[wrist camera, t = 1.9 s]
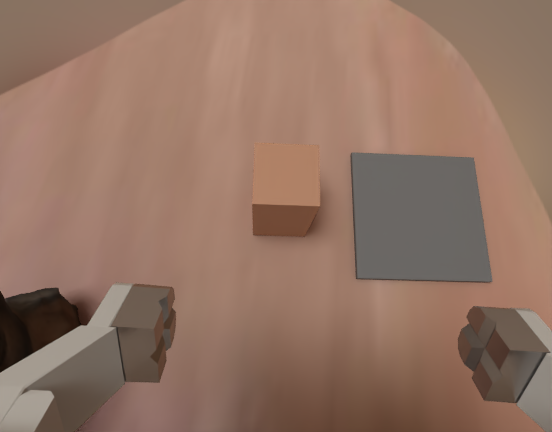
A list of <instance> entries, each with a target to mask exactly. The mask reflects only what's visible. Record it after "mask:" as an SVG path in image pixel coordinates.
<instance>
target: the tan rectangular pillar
mask: <svg viewBox="0 0 552 432" xmlns="http://www.w3.org/2000/svg"><path fill="white" fill-rule="evenodd" d="M319 208H320V165H319V145H299V144H275V143H255V150H254V175H253V201H252V210H253V235H270V236H302V237H304V236H305V235H306V233H307V231H308V229H309V227H310V225H311V223H312V221H313V219H314V217H315V215H316V213H317V211H318V210H319Z"/></svg>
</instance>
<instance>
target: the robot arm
mask: <svg viewBox="0 0 552 432" xmlns="http://www.w3.org/2000/svg"><path fill="white" fill-rule="evenodd" d="M174 300H175V295H174V289H173V287H168V286H156V285H145V284H130V283H117V282H116V283H115V284H113V285H112V286H111V288H110V289H109V291H108V293H107V294H106V296H105V297H104V299H103V301H102V302H101V304H100V305H99V307H98V309H97V310H96V312H95V313H94V315H93V317H92V318H91V320H90V321H89V323H88V325H87V326H83V325H81V326H79V327H77V328H76V329H74V330H72V331H71V332H69V333H67V334H65V335H64V336H62V337H60V338H59V339H57V340H55V341H53V342H52V343H50V344H48V345H47V346H45V347H43V348H42V349H40V350H38V351H36V352H35V353H33V354H31V355H30V356H28V357H26V358H25V359H23V360H21V361H19V362H18V363H16V364H14V365H13V366H11V367H9V368H7V369H6V370H4V371H2V372H1V373H0V432H74V431H76V430H77V429H78V428H79V427H80V426H81V425H82V424H83V423H84V422H85V421H86V420H87V419H88V418H89V417H90V416H91V415H92V414H93V413H95V412H96V411H97V410H98V409H99V408H100V407H101V406H102V405H103V404H104V403H105V402H106V401H107V400H108V399H109V398H110V397H111V396H112V395H114V394H115V393H116V392H117V391H118V390H119V389H120V388H121V387H122V386H123V385H124V384H125V382H154V383H159V382H160V379H161V376H162V373H163V370H164V367H165V364H166V351H167V350H168V349H169V348H170V347H171V345H172V342H173V339H174V333H175V328H176V312H175V310H174V309H173V308H172V306H173V303H174ZM467 320H468V322H469V324H468V325H467V326H465V327H464V328H462V329H461V331H460V334H459V337H458V350H459V354H460V357H461V359H462V361H463V363H464V364H465V365H466V366H467V367H468V368H470V369H471V370H472V371H474V372H473V376H472V379H473V381H474V383H475V385H476V387H477V389H478V390H479V392H480V394H481V396H482V398H483V400H484V401H496V402H508V403H517V404H516V405H517V406H518V407H519V408H520V409H521V410H523V411H524V412H525V413H526V414H527V415H528V416H529V417H530V418H531V419H532V420H534V421H535V422H536V423H537V424H538V425H539V426H540V427H541V428H542V429H543V430H545V431H546V432H552V331H551V330H550V328H549V327H548V326H547V325H546V324H545V323H544V322H543V321H542V319H541V318H540V317H539V316H538V315H537V314H536V313H535V312H534V311H532V310H530V309H525V308H496V307H479V306H473V307H472V308H471V309H470V310H469V312H468V315H467Z"/></svg>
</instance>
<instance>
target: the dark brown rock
mask: <svg viewBox="0 0 552 432" xmlns="http://www.w3.org/2000/svg"><path fill="white" fill-rule="evenodd" d="M77 310H78V309H77V307H76V306H75V305H71V304H70V303H69V302H68V301H67V300H66V299H65V298H64V297H63V296H62V295H61V294H60V293H59V289H58V288H45V289H41V290H37V291H35V292H31V293H26V294H19V295H16V296H12V297H8V298H6V299H4V297H3V295H2V293H1V291H0V373H1V372H2V371H4V370H6V369H7V368H9V367H11V366H13V365H14V364H16V363H18V362H19V361H21V360H23V359H25V358H26V357H28V356H30V355H31V354H33V353H35V352H36V351H38V350H40V349H42V348H43V347H45V346H47V345H48V344H50V343H52V342H53V341H55V340H57V339H59V338H60V337H62V336H64V335H65V334H67V333H69V332H71V331H72V330H74V329H76V328H77V327H79V326H81V324H80V321H79V317H78V312H77Z"/></svg>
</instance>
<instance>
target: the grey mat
mask: <svg viewBox="0 0 552 432" xmlns="http://www.w3.org/2000/svg"><path fill="white" fill-rule="evenodd" d="M351 176H352V198H353V221H354V244H355V266H356V279H377V280H415V281H453V282H492V275H491V269H490V262H489V256H488V249H487V242H486V236H485V229H484V222H483V216H482V209H481V203H480V196H479V189H478V183H477V176H476V170H475V163H474V158H470V157H446V156H422V155H398V154H374V153H351Z"/></svg>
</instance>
